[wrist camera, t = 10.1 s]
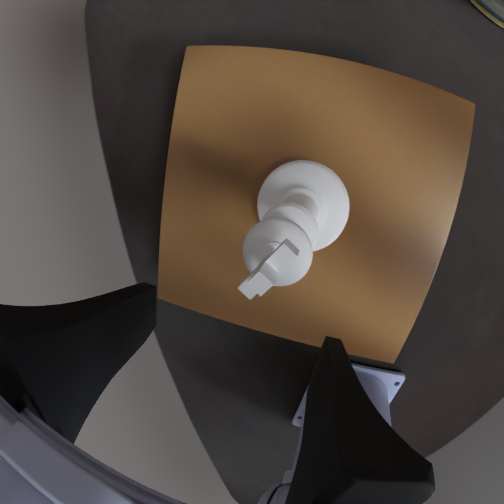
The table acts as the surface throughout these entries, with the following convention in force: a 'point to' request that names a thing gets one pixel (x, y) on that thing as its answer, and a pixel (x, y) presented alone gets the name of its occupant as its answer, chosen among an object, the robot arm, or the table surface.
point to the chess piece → (292, 224)
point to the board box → (332, 156)
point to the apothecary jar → (492, 10)
